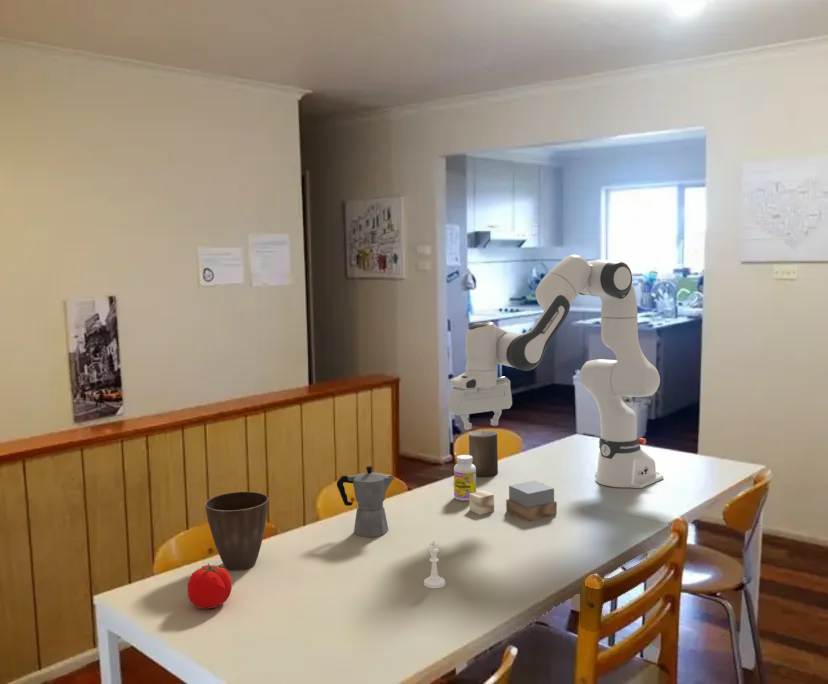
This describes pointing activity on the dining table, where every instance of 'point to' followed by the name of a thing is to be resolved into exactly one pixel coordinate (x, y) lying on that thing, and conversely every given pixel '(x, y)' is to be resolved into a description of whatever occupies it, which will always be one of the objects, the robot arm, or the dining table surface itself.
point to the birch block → (481, 502)
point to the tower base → (531, 510)
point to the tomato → (209, 586)
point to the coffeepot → (368, 501)
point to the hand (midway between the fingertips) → (481, 427)
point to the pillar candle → (484, 452)
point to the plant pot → (237, 527)
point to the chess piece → (434, 570)
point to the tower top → (531, 494)
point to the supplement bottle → (464, 478)
